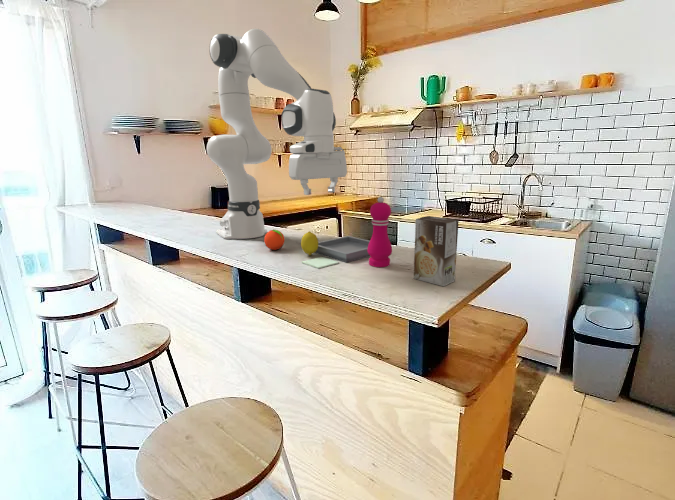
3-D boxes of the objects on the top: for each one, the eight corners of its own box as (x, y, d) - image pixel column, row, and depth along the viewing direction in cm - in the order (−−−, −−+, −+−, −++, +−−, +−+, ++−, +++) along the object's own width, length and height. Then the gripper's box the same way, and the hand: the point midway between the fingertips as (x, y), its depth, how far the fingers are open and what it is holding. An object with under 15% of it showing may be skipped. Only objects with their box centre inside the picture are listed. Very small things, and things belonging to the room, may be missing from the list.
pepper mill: (373, 259, 116) (374, 194, 111) (395, 263, 113) (397, 196, 108) (363, 265, 110) (363, 197, 105) (385, 269, 107) (387, 198, 102)
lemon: (317, 257, 119) (317, 233, 117) (300, 257, 119) (299, 233, 117) (319, 253, 124) (318, 229, 122) (302, 253, 124) (301, 229, 122)
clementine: (291, 249, 129) (290, 229, 127) (274, 253, 124) (273, 232, 122) (276, 246, 134) (275, 226, 133) (260, 249, 130) (259, 229, 128)
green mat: (301, 262, 114) (301, 261, 113) (322, 257, 119) (322, 256, 119) (318, 268, 108) (318, 267, 108) (339, 263, 113) (339, 262, 113)
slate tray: (309, 251, 127) (309, 243, 126) (348, 243, 138) (348, 235, 137) (346, 262, 114) (346, 254, 113) (385, 252, 125) (385, 244, 124)
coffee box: (456, 280, 97) (460, 219, 93) (443, 287, 92) (447, 222, 88) (425, 273, 103) (428, 215, 99) (411, 278, 99) (414, 218, 95)
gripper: (337, 147, 121) (338, 190, 124) (284, 146, 108) (286, 195, 111) (351, 146, 116) (351, 191, 120) (297, 146, 103) (299, 197, 107)
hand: (319, 193), depth 115 cm, fingers open, 8 cm apart
